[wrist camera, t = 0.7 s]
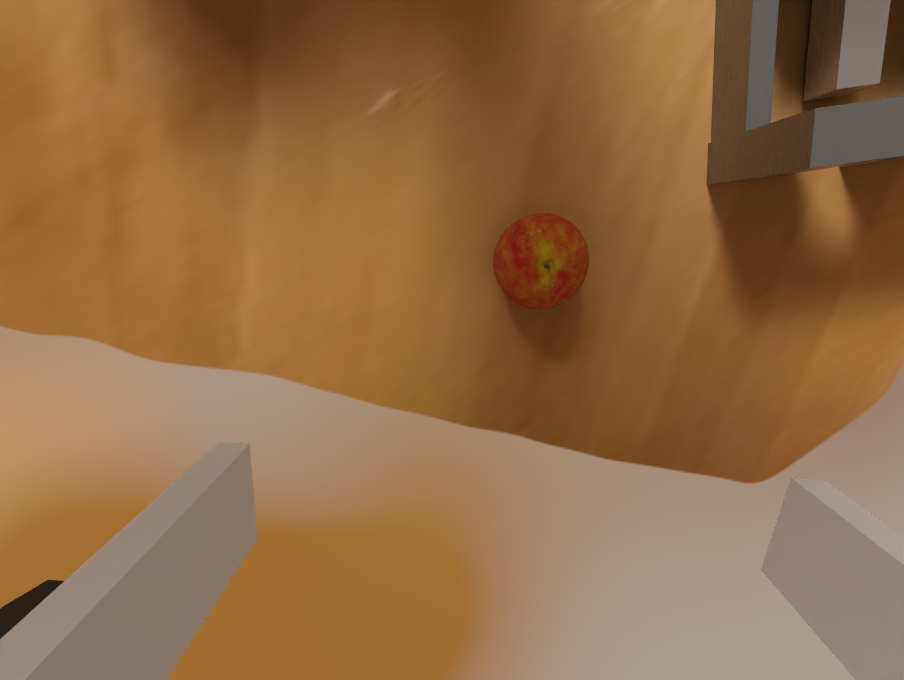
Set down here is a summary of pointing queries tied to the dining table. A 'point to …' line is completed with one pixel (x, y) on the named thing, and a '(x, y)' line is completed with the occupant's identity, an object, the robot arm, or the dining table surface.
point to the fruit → (541, 261)
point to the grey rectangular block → (845, 46)
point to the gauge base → (791, 139)
